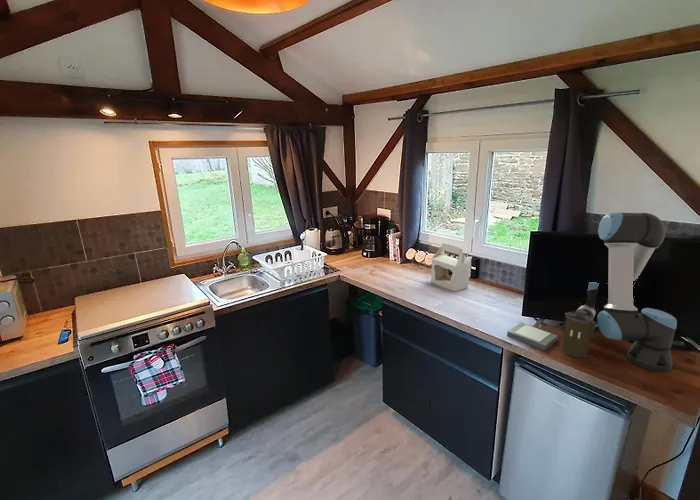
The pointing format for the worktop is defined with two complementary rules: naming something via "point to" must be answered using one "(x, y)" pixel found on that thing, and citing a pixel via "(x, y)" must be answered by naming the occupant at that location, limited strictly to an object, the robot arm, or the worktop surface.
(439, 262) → the gable box
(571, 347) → the canister
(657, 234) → the robot arm
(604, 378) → the worktop surface
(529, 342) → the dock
